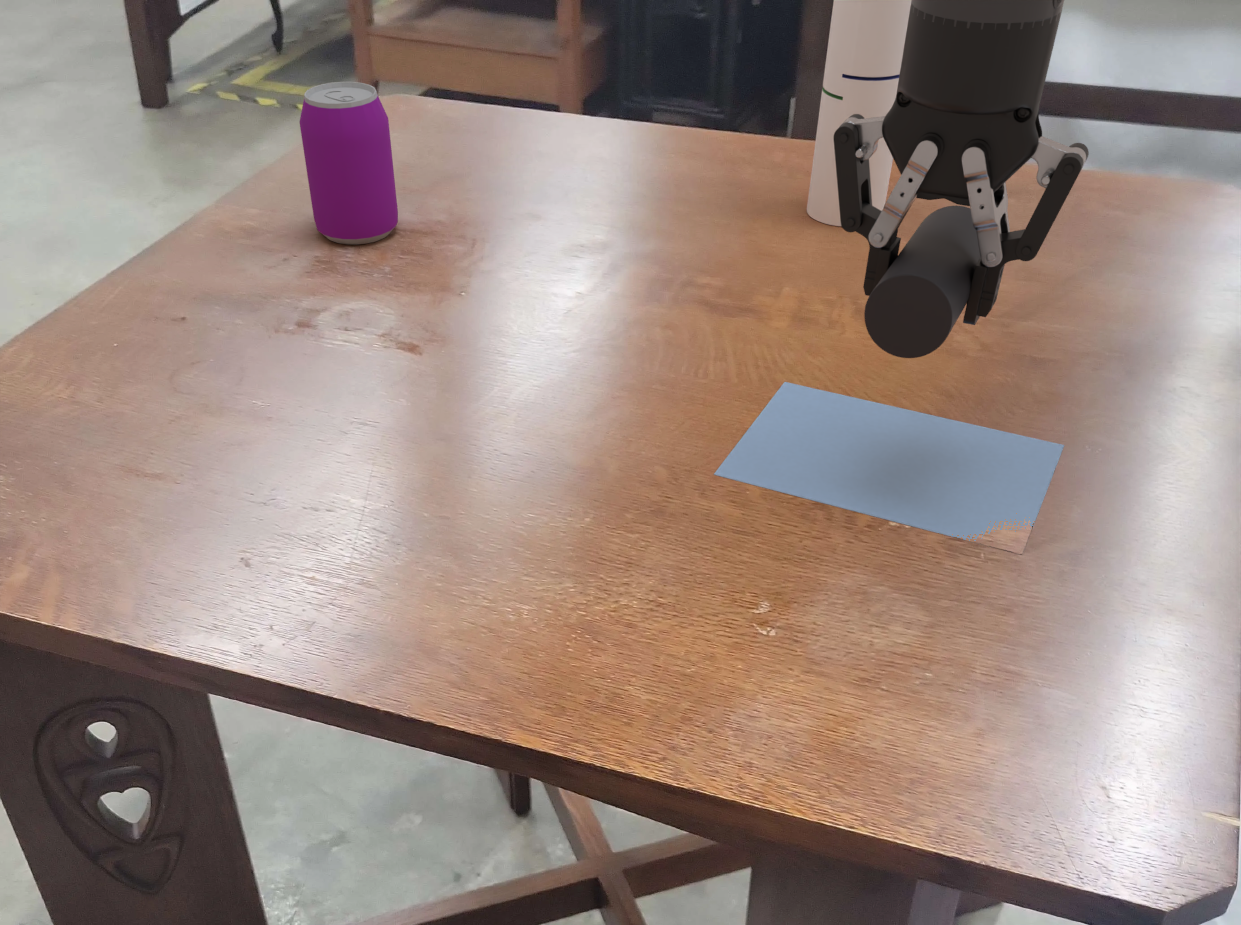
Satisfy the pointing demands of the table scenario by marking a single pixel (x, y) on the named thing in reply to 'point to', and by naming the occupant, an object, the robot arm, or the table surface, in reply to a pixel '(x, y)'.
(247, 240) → the table surface
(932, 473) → the paper
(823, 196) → the cylindrical container
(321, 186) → the beverage can
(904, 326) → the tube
